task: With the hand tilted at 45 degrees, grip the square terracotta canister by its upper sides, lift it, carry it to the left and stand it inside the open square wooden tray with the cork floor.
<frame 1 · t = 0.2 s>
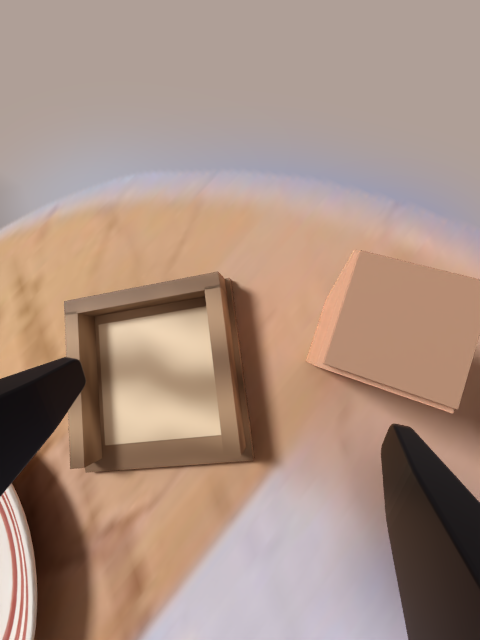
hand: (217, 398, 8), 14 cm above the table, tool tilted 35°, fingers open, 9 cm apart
square wooden tray: (160, 375, 23), on the table
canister: (348, 340, 21), on the table
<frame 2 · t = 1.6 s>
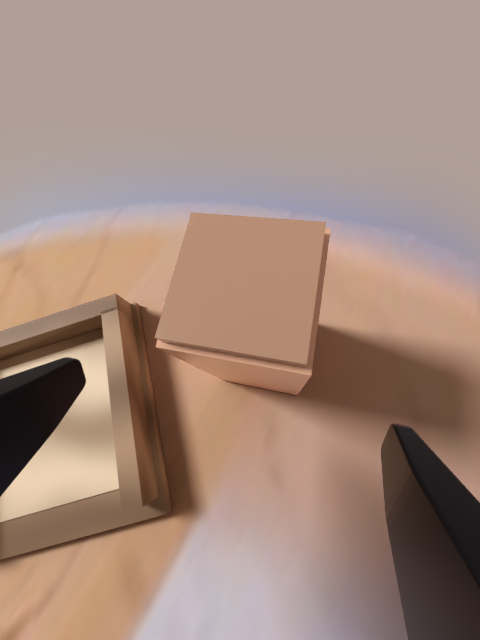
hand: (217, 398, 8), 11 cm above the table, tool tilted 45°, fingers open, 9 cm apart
square wooden tray: (60, 423, 20), on the table
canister: (265, 350, 19), on the table
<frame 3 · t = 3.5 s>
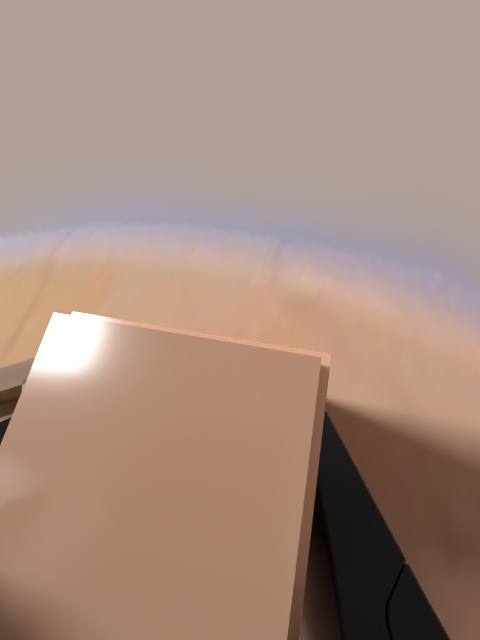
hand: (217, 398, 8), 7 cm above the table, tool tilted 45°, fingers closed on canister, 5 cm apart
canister: (243, 431, 14), on the table, touching gripper
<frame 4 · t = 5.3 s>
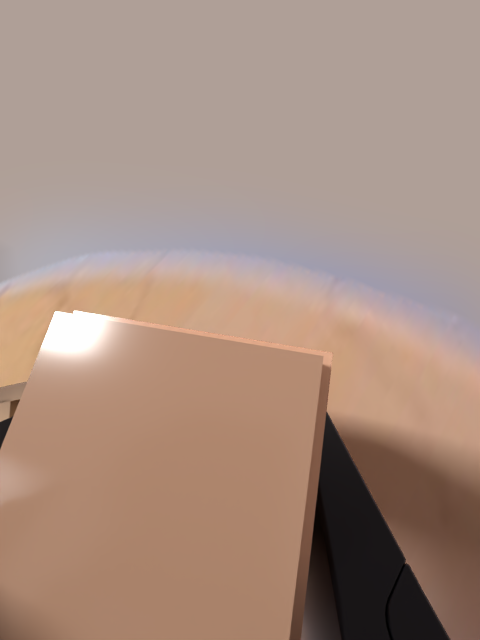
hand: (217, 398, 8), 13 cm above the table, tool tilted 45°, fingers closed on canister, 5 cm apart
square wooden tray: (100, 467, 21), on the table
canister: (244, 431, 14), point 6 cm above the table, touching gripper
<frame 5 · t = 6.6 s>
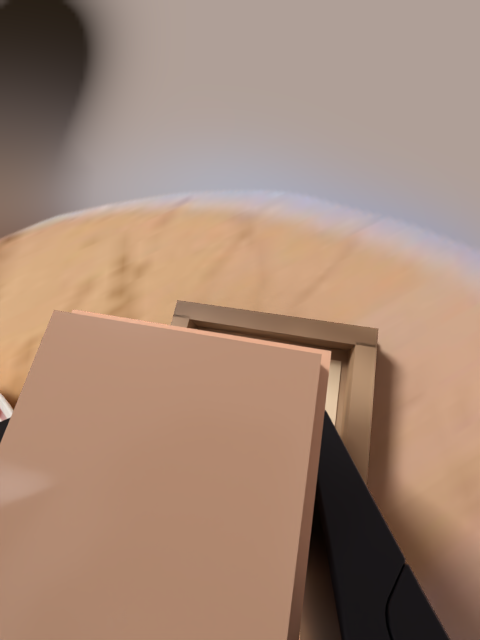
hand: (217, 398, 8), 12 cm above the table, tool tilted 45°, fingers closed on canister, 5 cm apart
square wooden tray: (255, 422, 19), on the table
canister: (243, 430, 14), point 5 cm above the table, touching gripper
when the fingers open (9 cm above the table, at t = 7.6 s): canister drops 1 cm, resting on square wooden tray.
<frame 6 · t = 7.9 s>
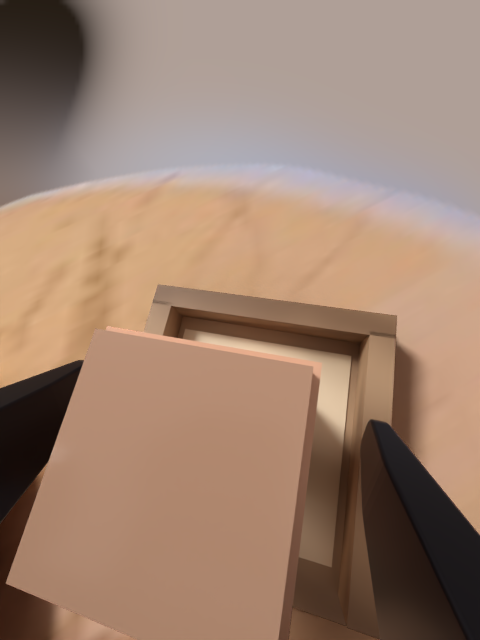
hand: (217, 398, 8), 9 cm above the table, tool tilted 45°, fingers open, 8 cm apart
square wooden tray: (248, 428, 16), on the table
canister: (246, 429, 15), point 1 cm above the table, touching square wooden tray
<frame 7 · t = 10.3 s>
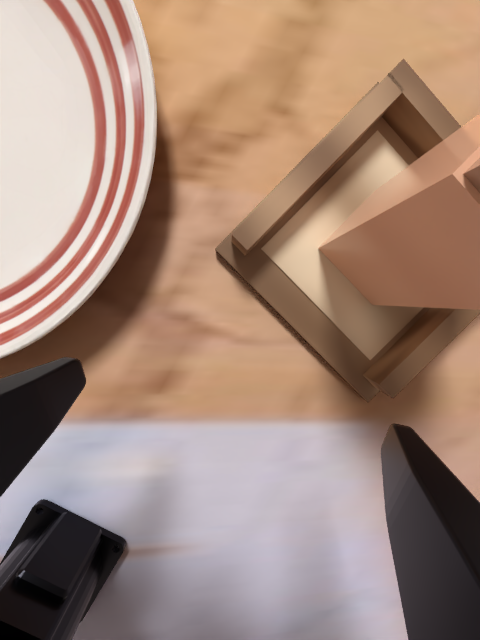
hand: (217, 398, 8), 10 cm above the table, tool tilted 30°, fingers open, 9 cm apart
square wooden tray: (368, 250, 18), on the table
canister: (373, 248, 17), point 1 cm above the table, touching square wooden tray
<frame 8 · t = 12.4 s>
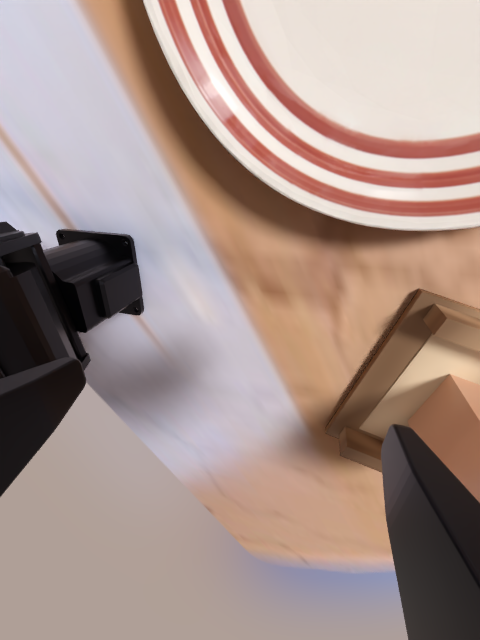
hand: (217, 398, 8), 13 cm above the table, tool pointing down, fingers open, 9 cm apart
square wooden tray: (457, 405, 20), on the table
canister: (462, 412, 20), point 1 cm above the table, touching square wooden tray
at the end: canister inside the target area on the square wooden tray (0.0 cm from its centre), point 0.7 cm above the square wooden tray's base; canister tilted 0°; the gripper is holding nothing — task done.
